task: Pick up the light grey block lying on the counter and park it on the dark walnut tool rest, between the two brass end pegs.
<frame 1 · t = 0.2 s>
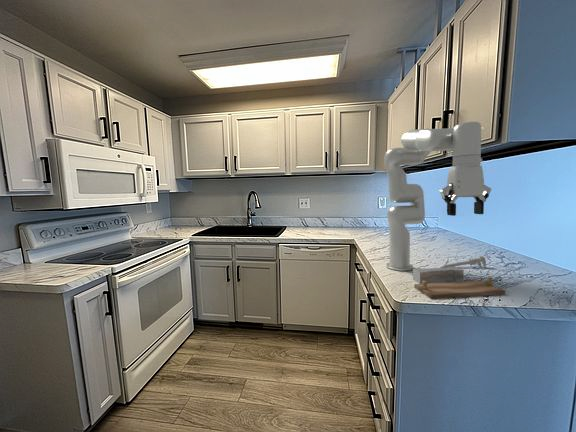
hand: (465, 214, 85), 31 cm above the countertop, tool pointing down, fingers open, 9 cm apart
tool rest: (457, 290, 100), on the countertop
caliper: (462, 268, 129), on the countertop
light grey block: (437, 280, 112), on the countertop
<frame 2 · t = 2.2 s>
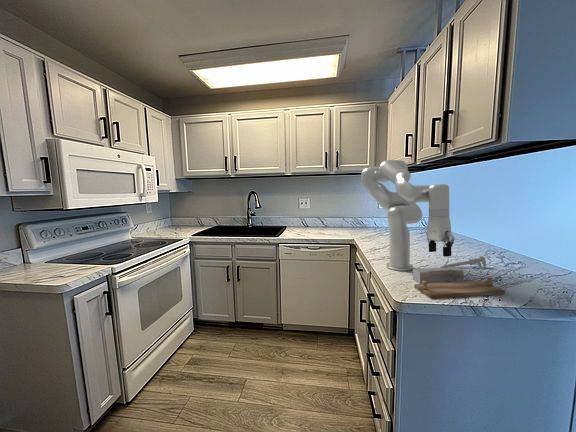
hand: (439, 253, 110), 12 cm above the countertop, tool pointing down, fingers open, 9 cm apart
nothing on the countertop moved.
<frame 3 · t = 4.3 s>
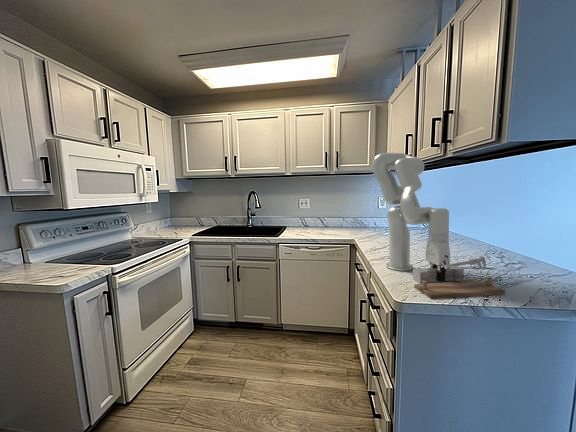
hand: (437, 278, 112), 1 cm above the countertop, tool pointing down, fingers closed on light grey block, 3 cm apart
light grey block: (438, 280, 112), on the countertop, touching gripper
everything else where it was.
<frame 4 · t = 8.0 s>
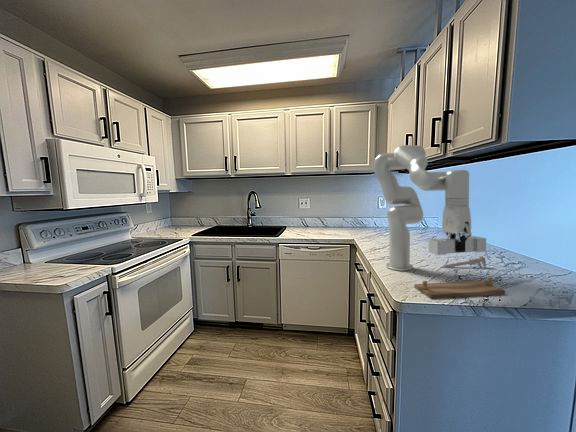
hand: (456, 250, 99), 16 cm above the countertop, tool pointing down, fingers closed on light grey block, 3 cm apart
light grey block: (456, 251, 99), point 15 cm above the countertop, touching gripper
everything else where it was.
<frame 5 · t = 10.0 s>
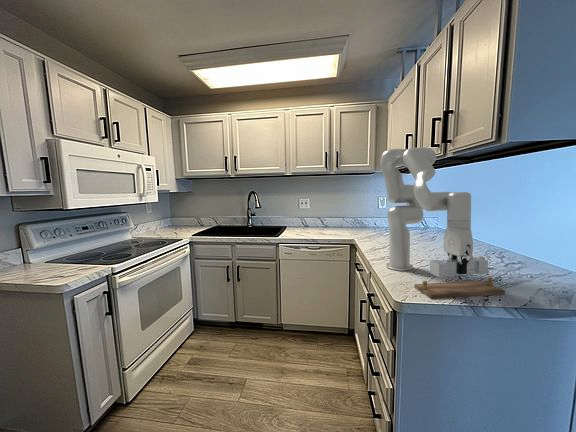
hand: (458, 271, 99), 8 cm above the countertop, tool pointing down, fingers closed on light grey block, 3 cm apart
light grey block: (458, 273, 99), point 7 cm above the countertop, touching gripper
everything else where it was.
when the fingers open (3 cm above the countertop, at t = 11.8 s): light grey block stays where it is, resting on tool rest.
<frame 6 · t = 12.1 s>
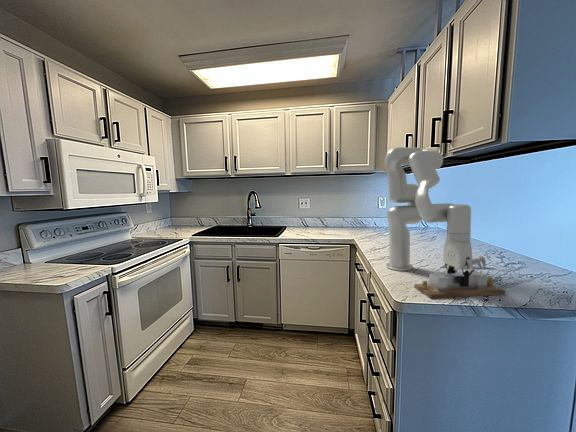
hand: (457, 282, 100), 3 cm above the countertop, tool pointing down, fingers open, 6 cm apart
light grey block: (457, 287, 100), point 1 cm above the countertop, touching tool rest
everything else where it was.
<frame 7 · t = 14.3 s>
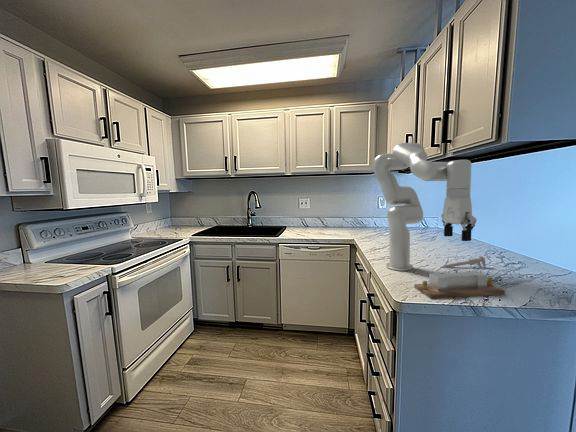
hand: (456, 238, 99), 20 cm above the countertop, tool pointing down, fingers open, 9 cm apart
nothing on the countertop moved.
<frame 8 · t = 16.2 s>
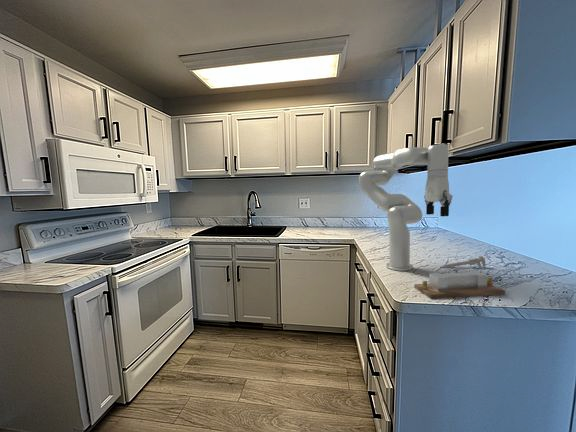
hand: (437, 215, 110), 28 cm above the countertop, tool pointing down, fingers open, 9 cm apart
nothing on the countertop moved.
at the end: light grey block inside the target area on the tool rest (0.1 cm from its centre), point 1.5 cm above the tool rest's base; light grey block touching tool rest; the gripper is holding nothing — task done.
